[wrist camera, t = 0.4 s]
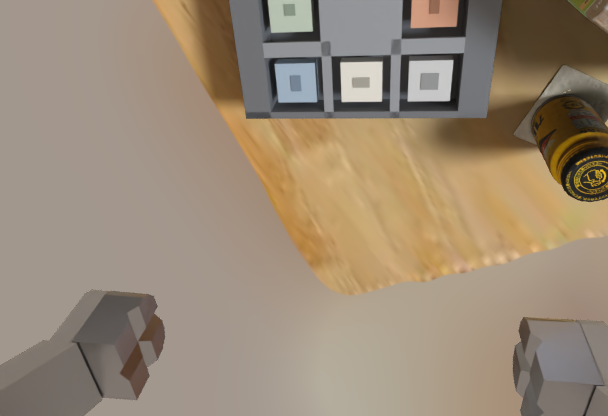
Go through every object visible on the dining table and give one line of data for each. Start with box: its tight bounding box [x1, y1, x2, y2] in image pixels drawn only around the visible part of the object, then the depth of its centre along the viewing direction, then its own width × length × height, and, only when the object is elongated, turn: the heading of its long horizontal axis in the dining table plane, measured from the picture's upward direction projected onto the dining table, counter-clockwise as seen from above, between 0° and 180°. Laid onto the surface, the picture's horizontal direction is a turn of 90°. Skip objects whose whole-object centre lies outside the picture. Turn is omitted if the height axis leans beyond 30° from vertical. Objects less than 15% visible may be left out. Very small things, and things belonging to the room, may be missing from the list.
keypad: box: [229, 0, 502, 119], centre depth 49 cm, size 14×24×5 cm, turn 94°
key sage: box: [268, 0, 315, 33], centre depth 47 cm, size 4×4×2 cm
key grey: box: [408, 55, 453, 101], centre depth 48 cm, size 4×4×2 cm
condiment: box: [513, 65, 608, 202], centre depth 47 cm, size 7×8×12 cm
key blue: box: [275, 58, 319, 103], centre depth 51 cm, size 4×4×2 cm
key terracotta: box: [411, 0, 459, 28], centre depth 45 cm, size 4×4×2 cm
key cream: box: [340, 57, 383, 102], centre depth 50 cm, size 4×4×2 cm
